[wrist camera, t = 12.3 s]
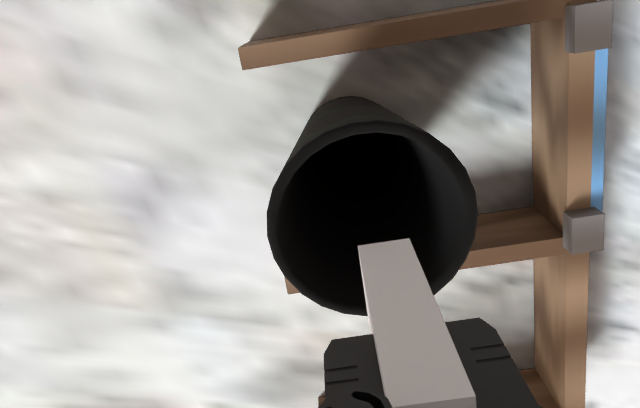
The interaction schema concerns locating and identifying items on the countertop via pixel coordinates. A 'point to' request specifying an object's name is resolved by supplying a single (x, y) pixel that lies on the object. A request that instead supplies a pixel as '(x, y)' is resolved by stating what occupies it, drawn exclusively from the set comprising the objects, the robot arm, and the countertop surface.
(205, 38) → the countertop surface
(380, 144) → the cup
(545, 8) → the comb rack
